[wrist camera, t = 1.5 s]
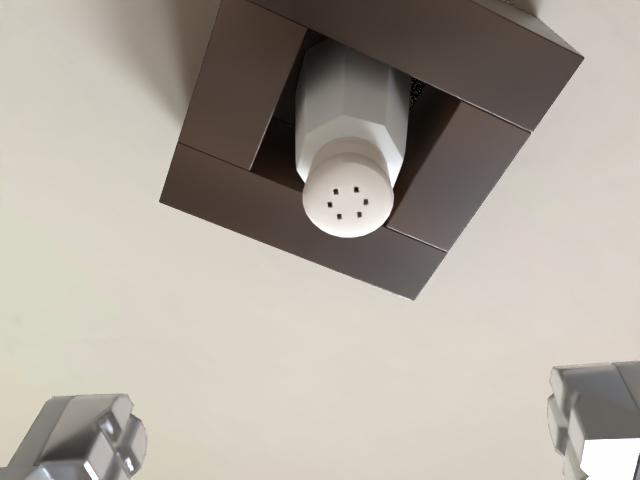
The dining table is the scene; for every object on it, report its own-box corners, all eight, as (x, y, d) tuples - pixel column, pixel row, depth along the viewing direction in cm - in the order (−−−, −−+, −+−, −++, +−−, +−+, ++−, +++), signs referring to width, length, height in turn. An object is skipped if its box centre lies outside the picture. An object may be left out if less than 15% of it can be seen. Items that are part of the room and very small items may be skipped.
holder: (279, -114, 22) (255, -109, 17) (539, 18, 24) (585, 57, 19) (194, 143, 28) (158, 202, 23) (405, 230, 30) (413, 301, 25)
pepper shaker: (408, 18, 24) (436, 107, 15) (413, 134, 27) (440, 268, 18) (286, 33, 25) (241, 129, 16) (304, 145, 28) (276, 280, 19)
